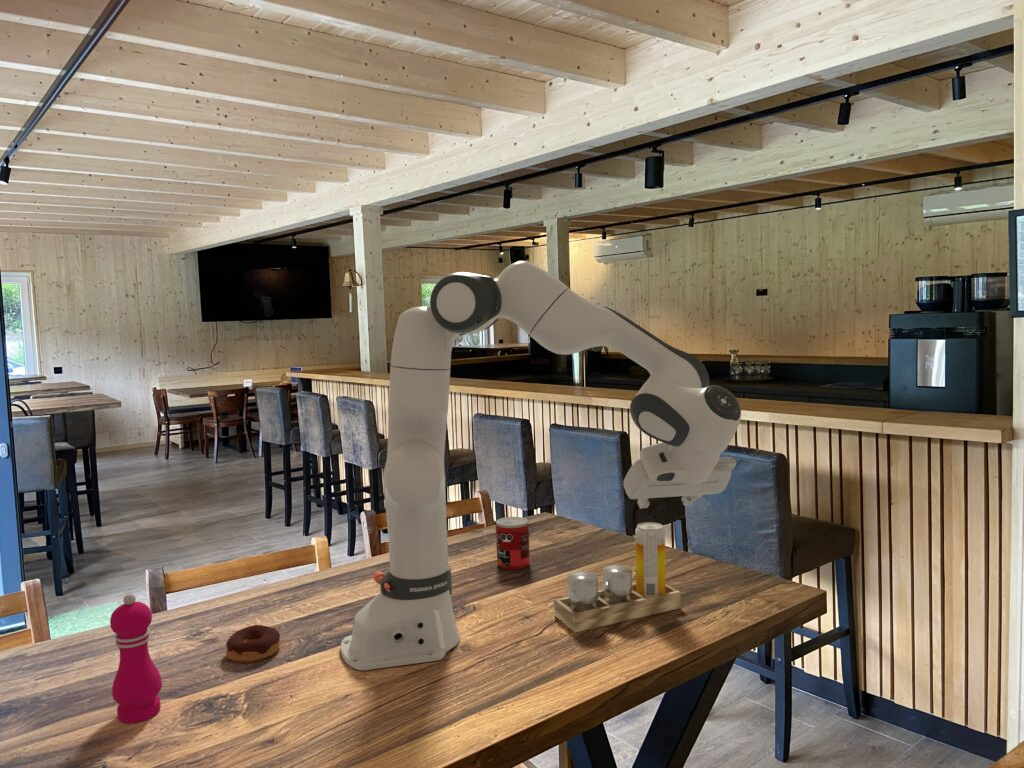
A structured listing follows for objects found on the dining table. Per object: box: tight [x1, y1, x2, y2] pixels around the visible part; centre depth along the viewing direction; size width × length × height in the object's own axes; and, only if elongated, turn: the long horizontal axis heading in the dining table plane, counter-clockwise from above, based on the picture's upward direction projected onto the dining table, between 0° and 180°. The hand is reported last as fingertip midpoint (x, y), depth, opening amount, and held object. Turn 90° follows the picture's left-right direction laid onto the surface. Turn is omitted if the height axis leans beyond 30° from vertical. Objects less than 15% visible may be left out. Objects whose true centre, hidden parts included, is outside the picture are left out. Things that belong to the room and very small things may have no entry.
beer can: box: [634, 521, 666, 598], centre depth 160 cm, size 6×6×15 cm
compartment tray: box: [553, 582, 682, 633], centre depth 158 cm, size 25×9×4 cm, turn 114°
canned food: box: [495, 516, 530, 570], centre depth 188 cm, size 8×8×11 cm
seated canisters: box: [567, 564, 633, 613], centre depth 156 cm, size 14×6×7 cm, turn 114°
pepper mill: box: [109, 593, 163, 724], centre depth 123 cm, size 7×7×20 cm
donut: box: [225, 624, 282, 664], centre depth 145 cm, size 10×10×4 cm
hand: (664, 504), depth 149 cm, fingers open, 8 cm apart
